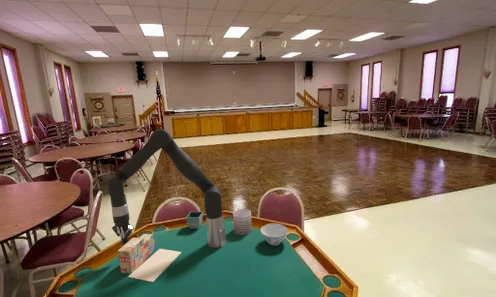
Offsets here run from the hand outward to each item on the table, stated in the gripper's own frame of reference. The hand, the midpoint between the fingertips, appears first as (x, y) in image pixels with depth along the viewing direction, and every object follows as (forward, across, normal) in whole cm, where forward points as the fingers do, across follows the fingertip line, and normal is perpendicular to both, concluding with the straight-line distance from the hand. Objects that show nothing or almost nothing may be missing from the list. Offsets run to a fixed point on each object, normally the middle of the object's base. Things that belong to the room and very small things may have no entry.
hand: (125, 243), depth 135 cm
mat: (+9, -19, 0) cm, 21 cm away
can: (+9, -51, -43) cm, 67 cm away
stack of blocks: (+9, -7, 0) cm, 12 cm away
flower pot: (+9, -19, -40) cm, 45 cm away
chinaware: (+9, -73, -34) cm, 81 cm away
